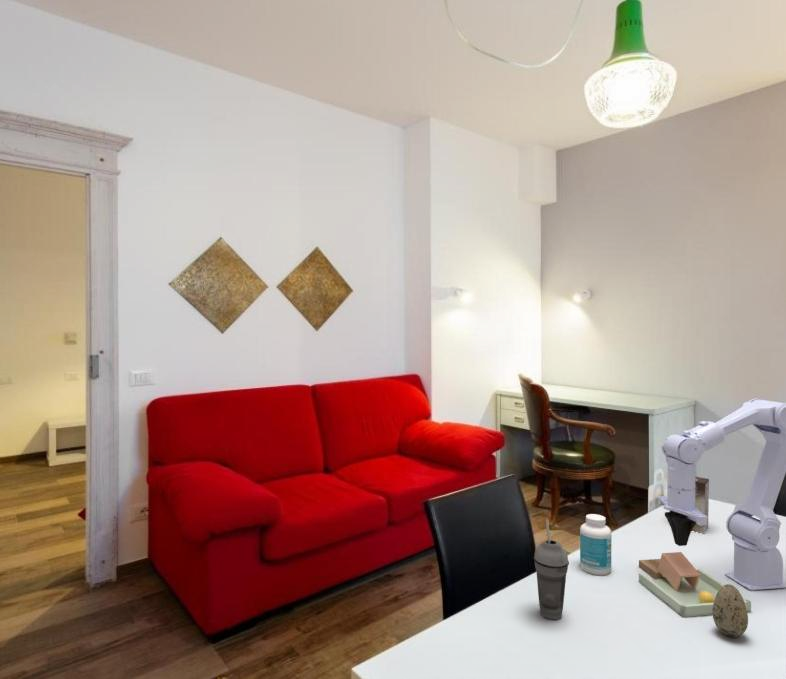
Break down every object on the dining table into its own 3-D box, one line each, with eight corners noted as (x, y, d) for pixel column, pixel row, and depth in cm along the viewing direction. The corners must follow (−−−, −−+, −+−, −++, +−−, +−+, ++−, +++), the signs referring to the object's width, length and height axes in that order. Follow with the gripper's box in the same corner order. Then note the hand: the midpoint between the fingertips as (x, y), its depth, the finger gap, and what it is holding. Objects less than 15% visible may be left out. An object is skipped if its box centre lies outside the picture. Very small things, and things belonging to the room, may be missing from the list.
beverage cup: (550, 626, 106) (551, 529, 106) (526, 609, 112) (526, 518, 112) (576, 617, 109) (576, 523, 109) (551, 601, 116) (551, 512, 115)
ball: (719, 598, 112) (715, 609, 112) (709, 587, 114) (705, 598, 115) (706, 598, 111) (702, 609, 112) (697, 587, 114) (693, 598, 115)
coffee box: (670, 529, 158) (670, 477, 158) (675, 523, 163) (675, 472, 162) (704, 537, 152) (705, 482, 152) (709, 530, 157) (709, 478, 156)
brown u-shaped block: (681, 552, 125) (700, 574, 119) (676, 568, 127) (695, 591, 120) (662, 553, 124) (680, 575, 118) (657, 569, 126) (675, 592, 120)
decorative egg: (740, 647, 99) (741, 595, 99) (707, 632, 103) (707, 583, 103) (753, 636, 102) (753, 586, 102) (719, 623, 107) (720, 575, 107)
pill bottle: (614, 578, 127) (614, 523, 126) (582, 575, 128) (582, 521, 128) (607, 564, 134) (608, 512, 134) (578, 562, 135) (578, 511, 135)
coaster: (664, 566, 133) (664, 558, 133) (682, 579, 126) (682, 571, 126) (638, 567, 132) (638, 560, 132) (656, 581, 125) (656, 572, 125)
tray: (699, 578, 127) (699, 569, 127) (751, 611, 111) (751, 601, 111) (638, 582, 125) (638, 573, 124) (682, 617, 109) (682, 607, 109)
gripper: (646, 479, 128) (646, 533, 128) (686, 497, 114) (686, 558, 114) (672, 477, 129) (672, 532, 129) (716, 496, 114) (715, 557, 115)
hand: (680, 544), depth 121 cm, fingers closed
